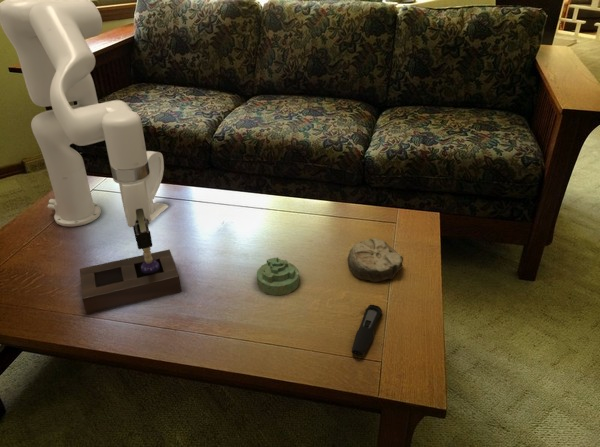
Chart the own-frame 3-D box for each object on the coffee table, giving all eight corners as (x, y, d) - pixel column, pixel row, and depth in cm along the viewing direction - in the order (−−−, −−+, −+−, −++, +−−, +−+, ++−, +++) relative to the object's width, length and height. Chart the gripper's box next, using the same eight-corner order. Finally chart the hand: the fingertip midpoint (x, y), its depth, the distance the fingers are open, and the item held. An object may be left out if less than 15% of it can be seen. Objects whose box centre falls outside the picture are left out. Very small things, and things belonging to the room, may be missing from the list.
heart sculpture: (143, 228, 145) (133, 170, 136) (128, 225, 147) (116, 167, 137) (171, 203, 158) (164, 148, 149) (157, 200, 159) (148, 145, 150)
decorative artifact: (290, 298, 119) (304, 274, 127) (290, 274, 115) (304, 250, 123) (250, 290, 122) (266, 266, 130) (249, 265, 118) (265, 242, 126)
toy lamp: (153, 275, 119) (142, 212, 111) (135, 273, 120) (122, 210, 112) (162, 264, 123) (152, 202, 115) (144, 262, 124) (132, 200, 116)
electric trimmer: (346, 358, 103) (346, 346, 102) (366, 309, 116) (367, 298, 114) (364, 363, 102) (365, 352, 101) (383, 314, 115) (384, 303, 113)
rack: (83, 283, 124) (79, 268, 121) (171, 264, 131) (169, 249, 128) (86, 314, 114) (82, 298, 112) (181, 291, 121) (179, 276, 119)
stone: (385, 249, 137) (387, 231, 134) (409, 277, 126) (412, 259, 123) (339, 258, 133) (339, 240, 131) (360, 288, 122) (361, 270, 120)
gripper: (108, 158, 114) (122, 230, 123) (116, 190, 101) (131, 266, 111) (143, 153, 116) (154, 223, 126) (155, 183, 104) (167, 259, 113)
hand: (144, 243), depth 118 cm, fingers closed on toy lamp, 2 cm apart
